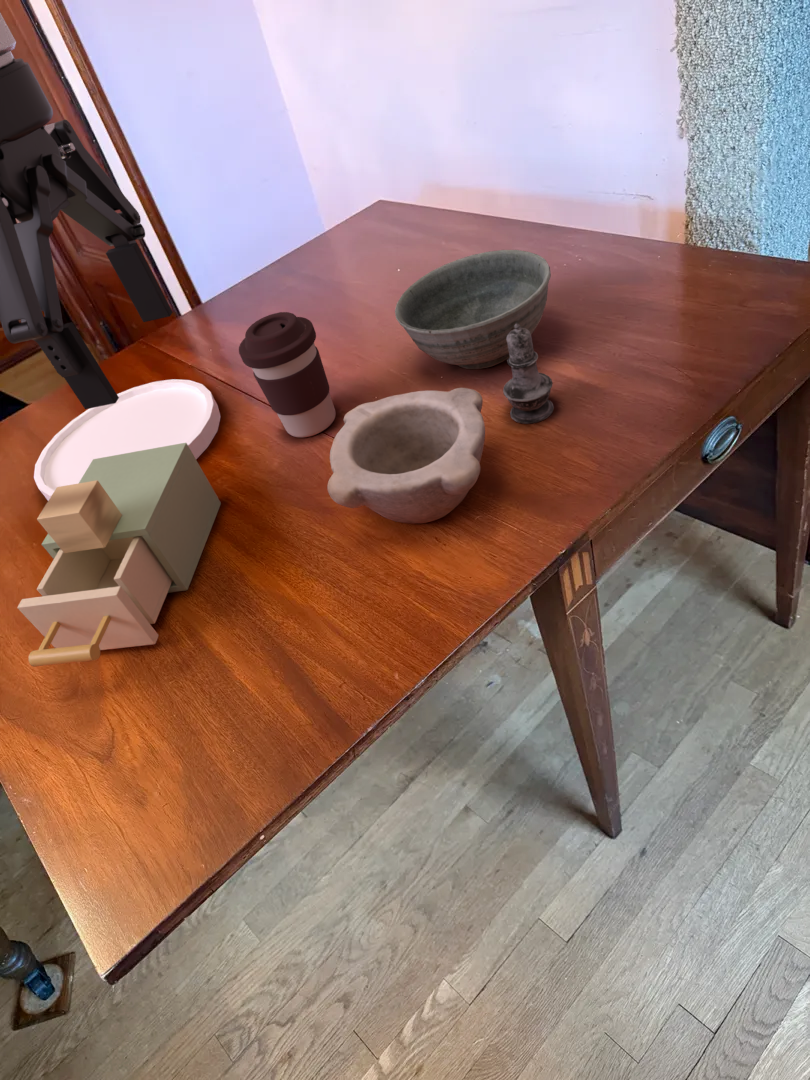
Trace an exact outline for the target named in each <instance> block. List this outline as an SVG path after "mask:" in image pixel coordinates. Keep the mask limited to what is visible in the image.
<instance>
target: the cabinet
mask: <svg viewBox="0 0 810 1080" xmlns="http://www.w3.org/2000/svg"><path fill="white" fill-rule="evenodd" d="M96 480H98V481H99V483H100V484H101V486H102V487H103V488H104V490H105V491H106V493H107V494H108V495H109V497H110V498H111V500H112V501H113V503H114V504H115V505H116V507H117V508H118V510H119V511H120V513H121V514H122V516H121V518H120V520H119V522H118V524H117V526H116V528H115V529H114V531H113V533H112V535H111V537H110V539H109V541H110V540H116V539H123V538H130V537H136V536H142V537H143V538H144V540H145V541H146V542H147V544H148V545H149V547H150V548H151V550H152V551H153V552H154V554H155V555H156V557H157V558H158V560H159V561H160V562H161V564H162V565H163V567H164V568H165V570H166V571H167V572H168V574H169V575H170V577H171V578H172V580H173V581H172V583H171V585H170V588H169V590H168V593H167V594H169V593H178V592H184V591H188V590H189V587H190V585H191V582H192V579H193V577H194V575H195V572H196V569H197V566H198V564H199V561H200V559H201V556H202V553H203V552H204V551H203V550H204V549H205V546H206V543H207V541H208V538H209V535H210V533H211V531H212V528H213V525H214V523H215V520H216V517H217V515H218V512H219V510H220V507H221V505H222V503H221V500H220V498H219V496H218V495H217V493H216V491H215V490H214V488H213V486H212V485H211V483H210V481H209V479H208V478H207V476H206V474H205V472H204V471H203V469H202V468H201V465H200V463H199V462H198V461H197V459H195V457H194V455H193V453H192V452H191V450H190V449H189V446H188V445H187V443H181V444H175V445H170V446H164V447H159V448H153V449H148V450H142V451H136V452H131V453H125V454H120V455H114V456H109V457H103V458H98V459H93V460H92V462H91V464H90V465H89V467H88V469H87V470H86V472H85V474H84V475H83V477H82V478H81V480H80V482H79V483H84V482H90V481H96ZM41 546H42V547H43V548H44V549H45V550H46V552H47V553H48V554H49V556H50V557H51V558H52V559H53V560H54V558H55V556H56V555H57V553H58V551H59V549H60V547H59V546H58V545H57V544H56V542H55V541H54V540H53V539H52V537H51V536H50V535H49V534H48V533H47V534H46V536H45V538H44V539H43V541H42V543H41Z"/></svg>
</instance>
